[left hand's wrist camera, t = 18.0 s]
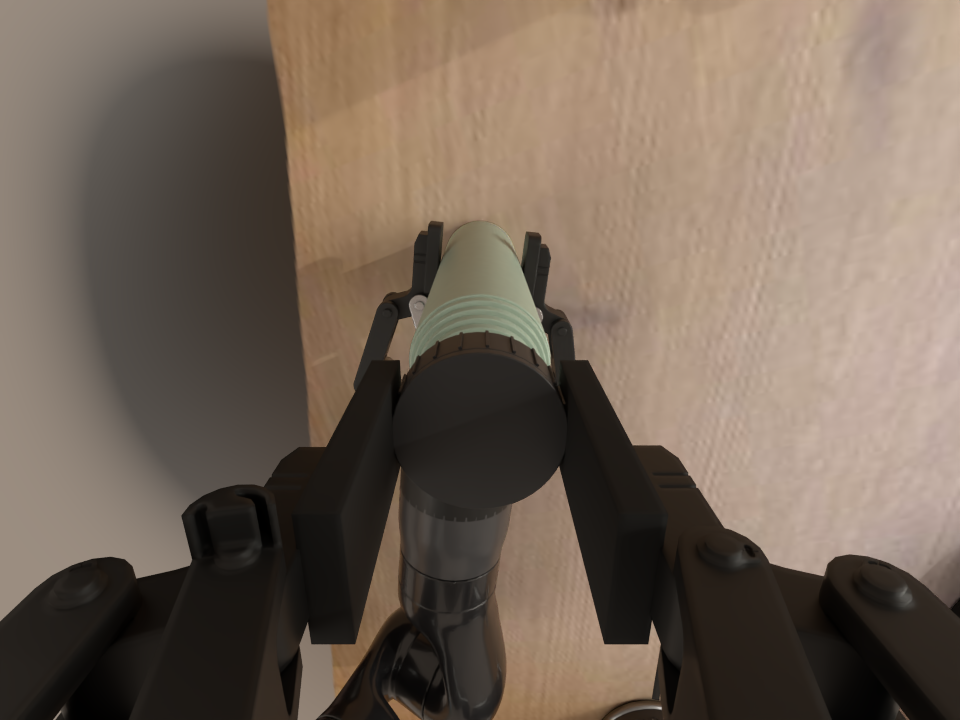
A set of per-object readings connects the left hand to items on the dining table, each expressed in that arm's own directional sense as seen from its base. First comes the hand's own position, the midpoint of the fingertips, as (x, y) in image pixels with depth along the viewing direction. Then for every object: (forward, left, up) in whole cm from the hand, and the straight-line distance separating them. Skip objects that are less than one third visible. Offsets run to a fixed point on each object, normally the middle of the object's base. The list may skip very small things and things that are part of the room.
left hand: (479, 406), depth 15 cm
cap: (0, 0, +1) cm, 1 cm away
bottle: (0, 0, -23) cm, 23 cm away
